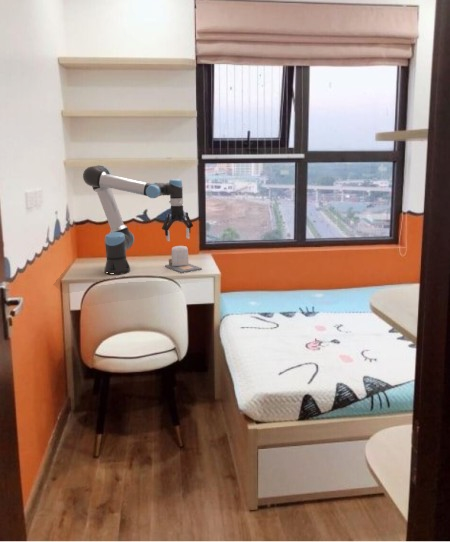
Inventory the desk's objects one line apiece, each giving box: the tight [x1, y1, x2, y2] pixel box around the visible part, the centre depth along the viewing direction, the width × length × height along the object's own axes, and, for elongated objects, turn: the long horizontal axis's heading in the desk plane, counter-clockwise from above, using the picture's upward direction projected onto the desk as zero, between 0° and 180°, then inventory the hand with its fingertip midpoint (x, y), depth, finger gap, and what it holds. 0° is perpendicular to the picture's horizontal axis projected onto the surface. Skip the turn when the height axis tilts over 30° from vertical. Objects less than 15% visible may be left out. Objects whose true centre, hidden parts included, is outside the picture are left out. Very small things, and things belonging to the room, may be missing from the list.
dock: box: [164, 258, 203, 274], centre depth 321 cm, size 14×22×4 cm, turn 32°
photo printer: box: [171, 245, 189, 266], centre depth 323 cm, size 10×4×12 cm, turn 101°
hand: (178, 239), depth 321 cm, fingers open, 13 cm apart
